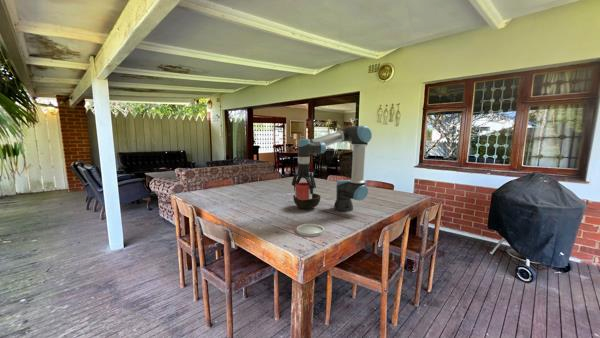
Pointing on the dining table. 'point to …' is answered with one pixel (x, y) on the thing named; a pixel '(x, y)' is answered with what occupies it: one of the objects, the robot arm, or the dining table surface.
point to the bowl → (307, 202)
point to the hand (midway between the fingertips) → (303, 197)
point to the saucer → (310, 230)
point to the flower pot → (302, 191)
